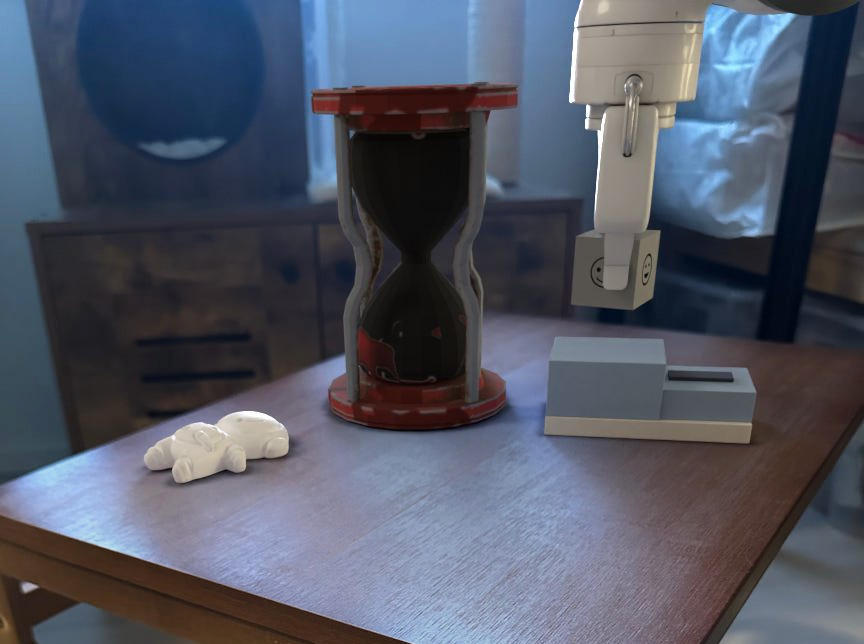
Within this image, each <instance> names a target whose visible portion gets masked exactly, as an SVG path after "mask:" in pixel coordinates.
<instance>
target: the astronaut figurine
mask: <svg viewBox="0 0 864 644" xmlns="http://www.w3.org/2000/svg"><path fill="white" fill-rule="evenodd" d="M289 437H290V435H289V433H288V431H287V428H286V427H285V426H284V424H282V423H280V422H279V421H278V420H277V419H275V418H273V416H271V415H268V414H265V413H262V412H259V411H252V410H251V411H250V410H247V411H246V410H244V411H237V412H231V413H228V414H227V415H225V416H223V417H221V418H220V419H219V420H218V421H217V422H216V423H214V425H213V424H210V423H206V422H201V421H200V422H192V423H190V424H187V425H186V426H183V427H180V428H179V429H177V430H176V431H175V432H174V433H173V434H172V435H170V436H168V437H165V438H163V439H161V440H158V441H157V442H156V443H155V444H154V446H150V447H149V448H148V449H147V450H146V453H145V454H144V456H143V462H144V464H145V466H146V467H147V468H148V469H149V470H151V471H161V470H166V469H171V468H172V470H171V473H172V476H173V479H174V481H175V482H176V483H177V484H184V483H188V482H190V481H193V480H197V479H198V480H199V479H202V478H205V477H208V476H211V475H214V474H217V473H219V472H222V471H225V470H227V471H230V472H232V473H236V474H238V473H242V472H245V470H246V468H247V460H257V459H262V458H263V459H264V458H266V459H276V458H281V457H283V456H286V455H287V454H288V453H289V449H290V448H289V447H290V443H289V442H290V438H289Z"/></svg>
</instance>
